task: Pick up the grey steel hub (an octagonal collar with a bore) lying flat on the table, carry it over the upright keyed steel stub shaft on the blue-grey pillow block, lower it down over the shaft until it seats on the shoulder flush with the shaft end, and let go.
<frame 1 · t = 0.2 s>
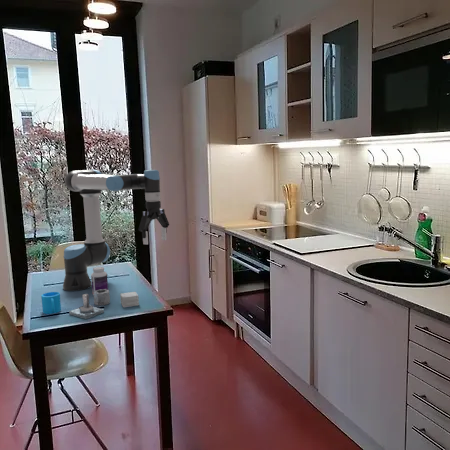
hand: (155, 242, 232), 28 cm above the table, fingers open, 13 cm apart
small box: (129, 304, 221), on the table
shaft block: (86, 313, 209), on the table
hub: (102, 303, 223), on the table
mug: (52, 312, 212), on the table
pill bottle: (100, 295, 238), on the table
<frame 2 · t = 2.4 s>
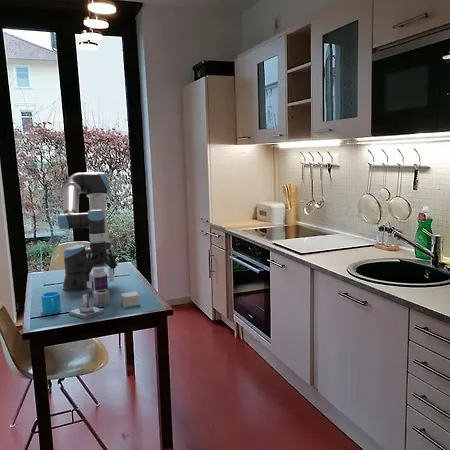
hand: (100, 284, 222), 10 cm above the table, fingers open, 13 cm apart
nothing on the table moved.
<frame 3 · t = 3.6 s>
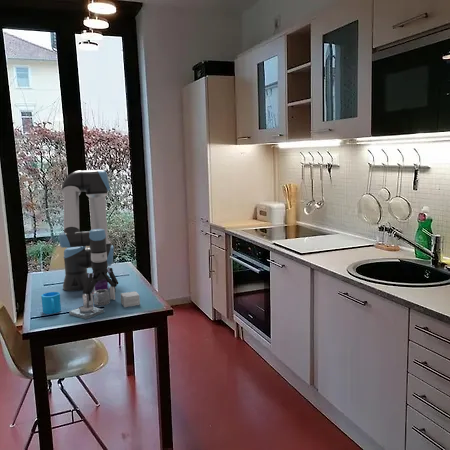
hand: (102, 302, 223), 0 cm above the table, fingers open, 13 cm apart
nothing on the table moved.
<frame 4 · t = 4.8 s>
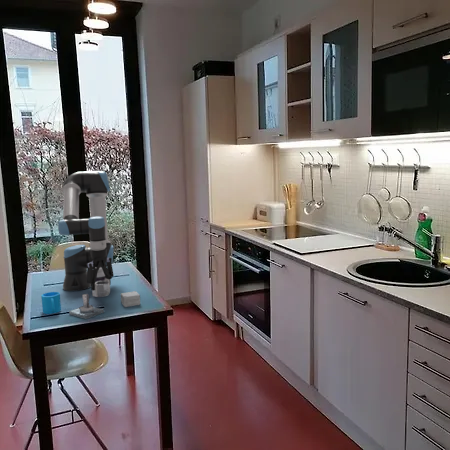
hand: (101, 293, 224), 5 cm above the table, fingers closed on hub, 7 cm apart
hub: (101, 294, 224), point 4 cm above the table, touching gripper
everything else where it was.
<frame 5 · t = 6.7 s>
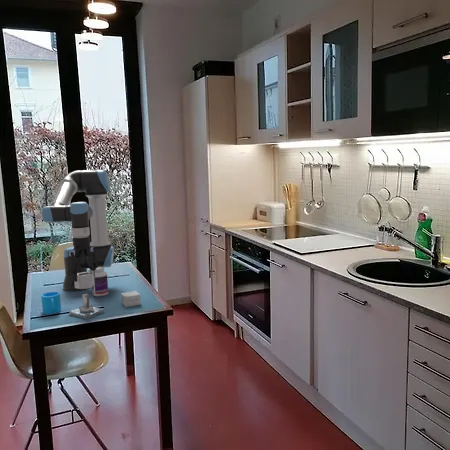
hand: (84, 286, 207), 13 cm above the table, fingers closed on hub, 7 cm apart
hub: (84, 286, 207), point 13 cm above the table, touching gripper
everything else where it was.
when the fingers open (3 cm above the table, at t = 8.8 s): hub stays where it is, resting on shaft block.
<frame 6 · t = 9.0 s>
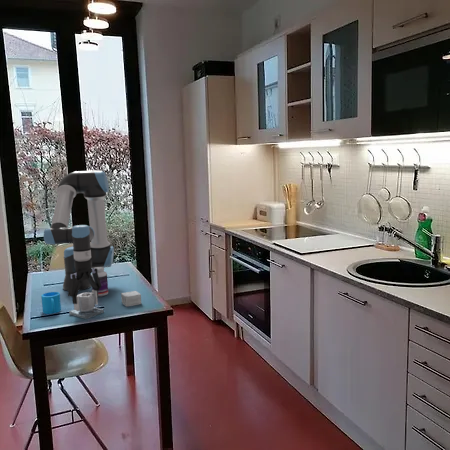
hand: (86, 307, 208), 3 cm above the table, fingers open, 9 cm apart
hub: (86, 307, 208), point 3 cm above the table, touching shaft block
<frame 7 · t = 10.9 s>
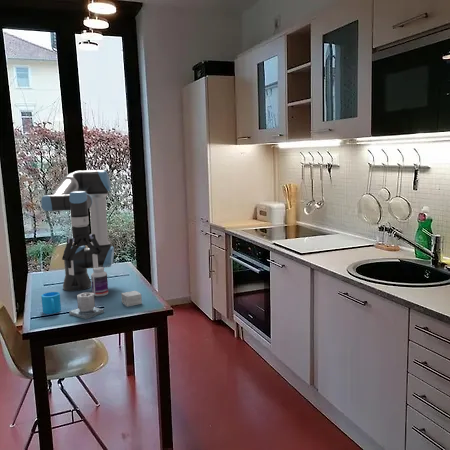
hand: (84, 271, 208), 19 cm above the table, fingers open, 13 cm apart
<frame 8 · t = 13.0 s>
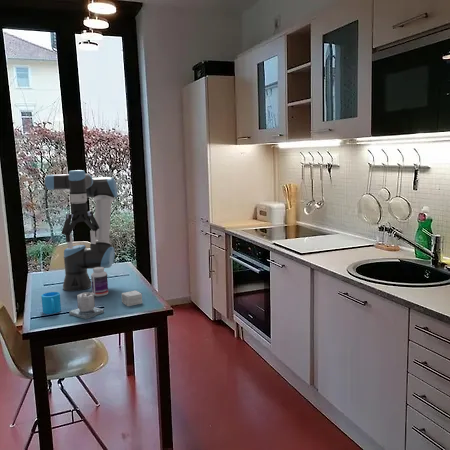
hand: (82, 246, 220), 29 cm above the table, fingers open, 13 cm apart
at the end: hub 0.2 cm off-centre on the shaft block, point 3.0 cm above the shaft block's base; hub tilted 0°; the gripper is holding nothing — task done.
